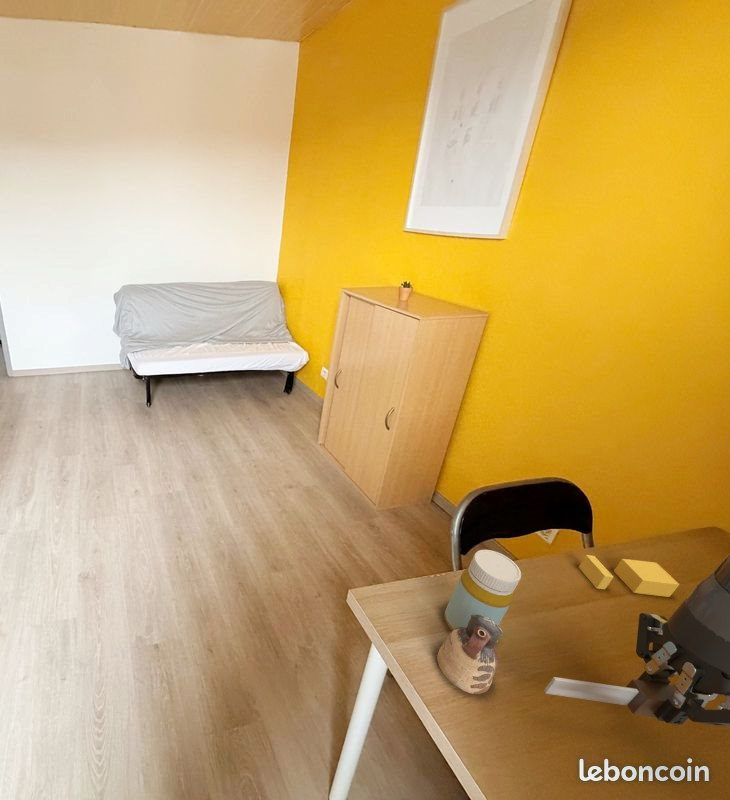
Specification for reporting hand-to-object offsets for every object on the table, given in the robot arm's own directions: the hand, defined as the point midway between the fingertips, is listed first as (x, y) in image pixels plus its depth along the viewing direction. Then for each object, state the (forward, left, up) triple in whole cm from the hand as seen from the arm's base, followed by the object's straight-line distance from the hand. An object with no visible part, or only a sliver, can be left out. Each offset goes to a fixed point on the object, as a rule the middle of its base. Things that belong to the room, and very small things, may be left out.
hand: (654, 705), depth 54 cm
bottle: (+16, -13, -7) cm, 22 cm away
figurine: (+20, -5, -7) cm, 22 cm away
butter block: (-21, -27, -6) cm, 35 cm away
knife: (+5, 0, -1) cm, 5 cm away
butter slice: (-12, -27, -6) cm, 30 cm away
